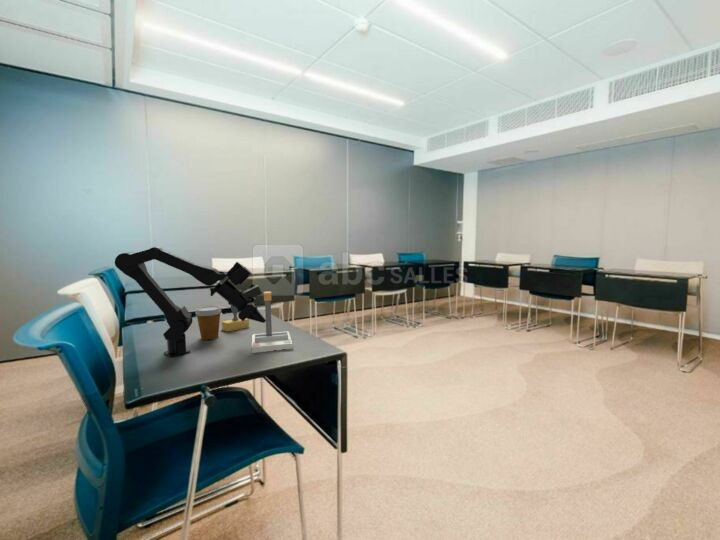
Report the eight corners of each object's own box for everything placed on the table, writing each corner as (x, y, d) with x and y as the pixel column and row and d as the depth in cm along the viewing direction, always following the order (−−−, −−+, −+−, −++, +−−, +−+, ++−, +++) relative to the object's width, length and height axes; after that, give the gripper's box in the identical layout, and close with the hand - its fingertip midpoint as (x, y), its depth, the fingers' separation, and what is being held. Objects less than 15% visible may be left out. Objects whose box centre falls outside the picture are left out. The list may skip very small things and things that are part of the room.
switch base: (251, 352, 116) (251, 342, 115) (252, 339, 131) (252, 330, 131) (292, 348, 120) (292, 339, 120) (288, 336, 135) (288, 327, 135)
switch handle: (265, 340, 123) (263, 293, 121) (265, 337, 126) (263, 291, 124) (272, 339, 124) (271, 292, 122) (272, 336, 127) (270, 291, 125)
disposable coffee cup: (222, 339, 131) (221, 309, 130) (195, 342, 128) (193, 311, 126) (222, 333, 140) (221, 305, 139) (197, 335, 136) (196, 306, 135)
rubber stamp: (228, 332, 141) (227, 304, 140) (221, 329, 145) (220, 302, 144) (249, 327, 149) (248, 300, 148) (242, 324, 153) (241, 299, 151)
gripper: (247, 281, 112) (281, 311, 116) (248, 275, 130) (278, 301, 134) (223, 306, 110) (259, 335, 115) (228, 296, 128) (259, 321, 132)
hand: (265, 321), depth 124 cm, fingers closed, pressing on switch handle
